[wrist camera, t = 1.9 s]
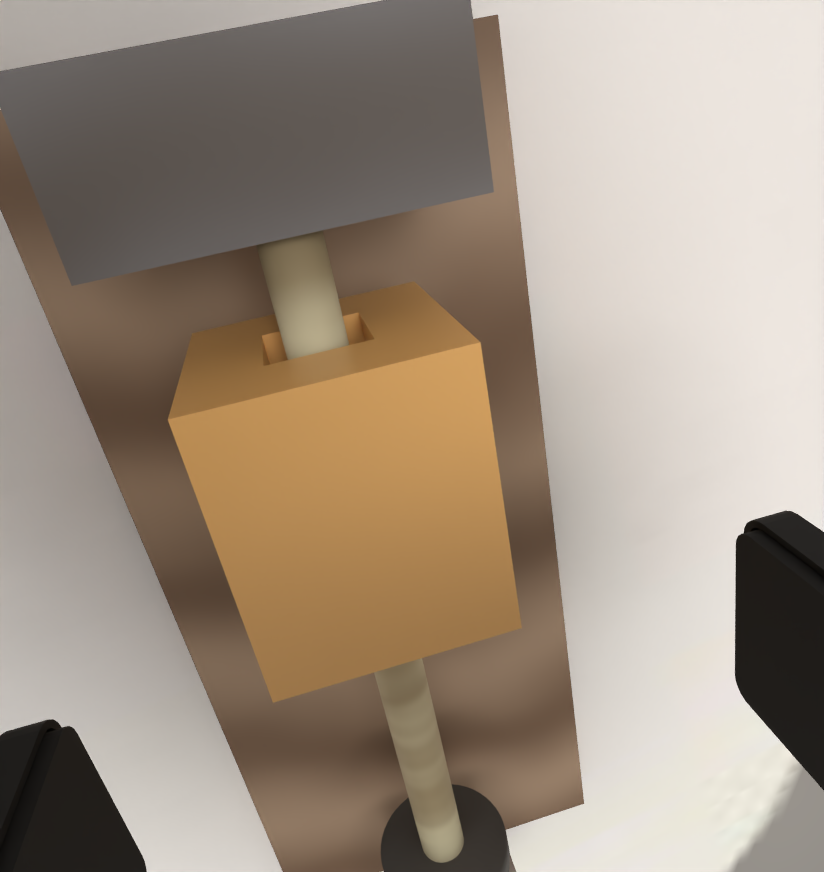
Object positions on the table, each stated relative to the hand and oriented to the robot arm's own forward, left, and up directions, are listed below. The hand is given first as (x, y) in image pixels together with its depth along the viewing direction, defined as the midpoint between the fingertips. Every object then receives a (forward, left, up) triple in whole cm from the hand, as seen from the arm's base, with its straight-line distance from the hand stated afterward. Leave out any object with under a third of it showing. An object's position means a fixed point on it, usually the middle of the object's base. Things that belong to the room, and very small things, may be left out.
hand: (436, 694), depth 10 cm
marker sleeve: (-1, 0, -8) cm, 8 cm away
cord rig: (+5, 0, -12) cm, 13 cm away
